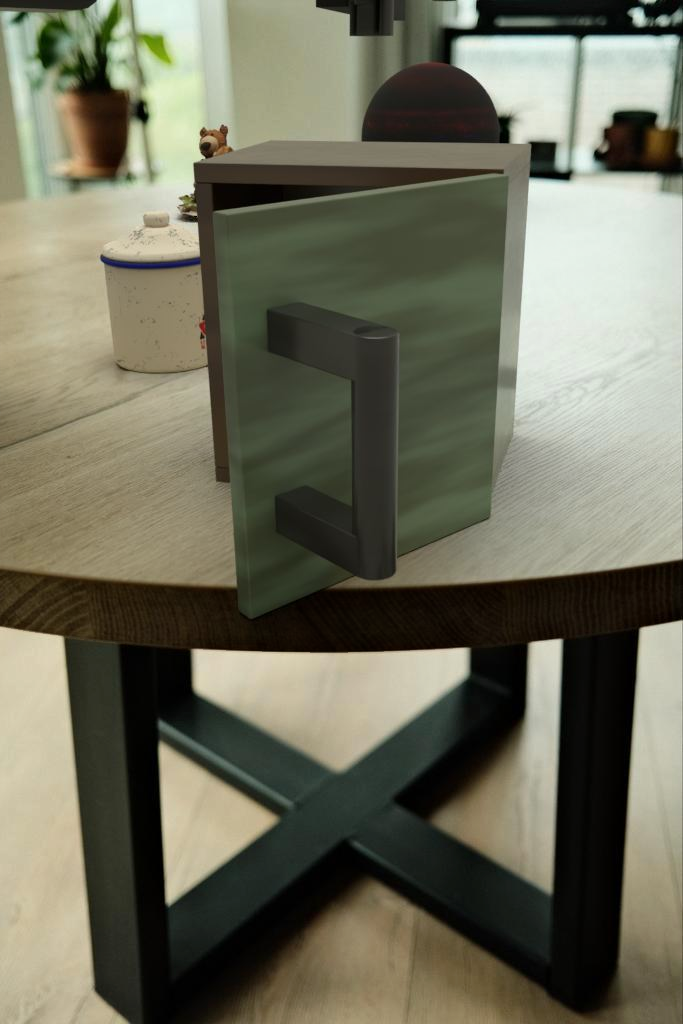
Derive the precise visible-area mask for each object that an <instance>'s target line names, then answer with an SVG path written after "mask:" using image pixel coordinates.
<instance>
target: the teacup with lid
mask: <svg viewBox="0 0 683 1024" xmlns="http://www.w3.org/2000/svg"><path fill="white" fill-rule="evenodd" d="M142 222H143V224H142V225H138V226H136V227H133V228H132V229H130V230H129V231H128V232H127V233H125V234H124V235H123V236H121V237H120V238H118V239H114V240H112V241H109V242H108V243H106V244H104V246H103V247H102V249H101V251H100V253H101V254H100V256H99V260H100V261H101V262H102V264H103V268H104V276H105V286H106V294H107V302H108V303H107V304H108V312H109V320H110V321H109V322H110V330H111V331H110V332H111V339H112V347H113V357H114V360H115V362H116V363H117V365H118V366H119V367H121V368H123V369H124V370H125V369H126V370H128V371H133V372H137V373H147V374H170V373H180V372H181V373H182V372H187V371H193V370H197V369H200V368H205V367H208V360H207V346H206V332H205V318H204V304H203V290H202V276H201V262H200V248H199V235H196V234H194V233H192V232H191V231H189V230H188V229H186V228H184V227H182V226H180V225H177V224H173V223H170V214H169V213H168V212H167V211H165V210H150V211H149V210H148V211H145V212H144V213H143V215H142Z"/></svg>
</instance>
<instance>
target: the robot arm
mask: <svg viewBox="0 0 683 1024" xmlns="http://www.w3.org/2000/svg"><path fill="white" fill-rule="evenodd" d="M97 1H98V0H0V12H10V13H11V12H15V13H16V12H17V13H40V14H41V13H43V14H57V13H65V12H66V13H67V12H75V11H81V10H85V9H89V8H90V7H92V6H93V5H94V4H95V3H97ZM432 2H457V0H432ZM315 8H317V9H321V10H322V9H323V10H327V11H331V12H335V13H341V14H346V15H349V37H393V36H394V30H395V29H394V26H395V25H394V24H395V22H396V21H397V22H398V21H400V22H401V21H403V22H405V21H406V10H407V9H406V8H407V0H315ZM394 21H395V22H394Z"/></svg>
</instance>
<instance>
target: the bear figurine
mask: <svg viewBox="0 0 683 1024" xmlns="http://www.w3.org/2000/svg"><path fill="white" fill-rule="evenodd" d="M228 134H229V127H228V126H227V125H225V124H221V125H220V127H219V129H215V128H214V129H206V127H205V126H203V127H202V128H201V129H200V130H199V136H200V139H199V143H198V144H199V145H198V148H199V151H200V154H201V156H202V157H204V158H201V159H200V161H201V160H205V159H208V158H211V157H215V156H218V155H222V154H225V153H229V152H232V151H235V150H234V149H233V148H232V146H231V145H228V139H227V136H228ZM195 183H196V182H195V181H193V183H192V184H193V185H192V186H193V188H194V190H193V193H190V194H189V195H188V194H184V195H183V196H179V197H178V200H179V201H181V202H182V204H178V206H176V208H177V210H178V211H179V213H180V215H184V214H186V215H188V216H192V217H194V216H197V207H196V193H195Z"/></svg>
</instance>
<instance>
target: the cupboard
mask: <svg viewBox="0 0 683 1024" xmlns="http://www.w3.org/2000/svg"><path fill="white" fill-rule="evenodd" d="M531 156H532V144H531V143H500V142H499V143H428V142H362V141H354V140H353V141H351V140H349V141H342V140H341V141H340V140H338V141H337V140H277V139H276V140H274V139H273V140H272V139H271V140H267V141H264V142H261V143H257V144H253V145H250V146H246V147H242V148H240V149H236V150H234V151H232V152H229V153H225V154H222V155H218V156H215V157H211V158H208V159H205V158H204V159H205V160H201V159H200V160H198V161H195V162H193V163H192V167H193V182H196V183H195V188H194V190H195V193H196V207H197V217H196V220H197V232H198V236H199V248H200V262H201V276H202V290H203V304H204V318H205V332H206V346H207V360H208V365H207V373H208V383H209V384H208V387H209V400H210V402H209V403H210V413H211V414H210V416H211V429H212V430H211V431H212V441H213V455H214V466H215V467H214V471H215V482H218V483H227V484H230V470H229V455H228V439H227V424H226V409H225V393H224V378H223V363H222V347H221V332H220V317H219V301H218V286H217V271H216V255H215V240H214V225H213V212H214V211H221V210H228V209H235V208H243V207H250V206H257V205H265V204H272V203H279V202H287V201H294V200H301V199H309V198H316V197H323V196H331V195H338V194H345V193H353V192H360V191H367V190H375V189H382V188H389V187H397V186H404V185H411V184H419V183H426V182H433V181H441V180H448V179H456V178H463V177H470V176H478V175H485V174H492V173H496V174H505V175H509V187H508V205H507V224H506V242H505V260H504V279H503V297H502V315H501V333H500V352H499V370H498V388H497V406H496V425H495V443H494V461H493V479H492V493H493V492H494V489H495V486H496V484H497V480H498V477H499V475H500V472H501V470H502V467H503V463H504V461H505V458H506V456H507V453H508V450H509V447H510V444H511V441H512V438H513V436H514V427H515V425H514V424H515V410H516V397H517V395H516V394H517V381H518V380H517V379H518V365H519V364H518V363H519V347H520V346H519V345H520V332H521V318H522V317H521V316H522V315H521V314H522V300H523V299H522V298H523V284H524V283H523V282H524V269H525V267H524V265H525V251H526V250H525V249H526V237H527V236H526V234H527V220H528V219H527V218H528V207H529V206H528V203H529V186H530V173H531V172H530V171H531Z"/></svg>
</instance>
